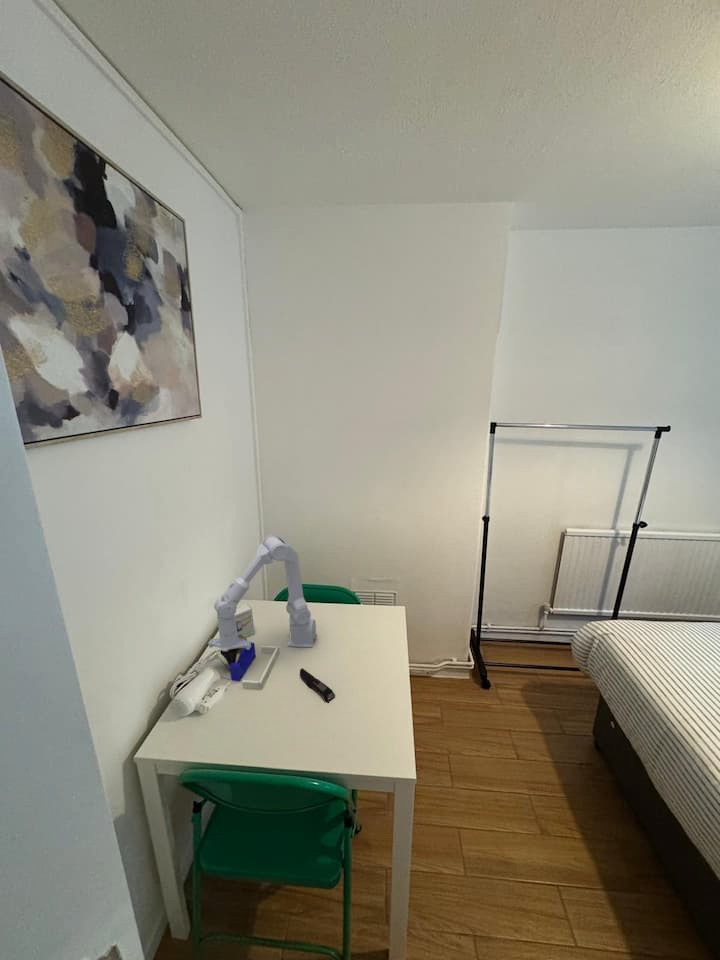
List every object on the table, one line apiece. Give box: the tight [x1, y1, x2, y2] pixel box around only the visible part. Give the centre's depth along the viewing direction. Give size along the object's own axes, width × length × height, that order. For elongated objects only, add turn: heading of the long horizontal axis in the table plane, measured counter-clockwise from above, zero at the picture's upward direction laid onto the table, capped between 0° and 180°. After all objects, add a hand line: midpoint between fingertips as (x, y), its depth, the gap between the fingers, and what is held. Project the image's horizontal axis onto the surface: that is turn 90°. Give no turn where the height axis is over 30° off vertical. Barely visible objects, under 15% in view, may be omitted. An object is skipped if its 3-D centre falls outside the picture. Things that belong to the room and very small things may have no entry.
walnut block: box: [237, 637, 248, 655], centre depth 140 cm, size 4×4×4 cm
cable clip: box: [229, 642, 257, 682], centre depth 130 cm, size 12×4×6 cm, turn 170°
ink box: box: [235, 603, 256, 638], centre depth 147 cm, size 9×5×12 cm, turn 129°
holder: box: [241, 645, 280, 690], centre depth 130 cm, size 6×18×2 cm, turn 173°
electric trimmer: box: [299, 668, 336, 704], centre depth 121 cm, size 4×16×3 cm, turn 45°
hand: (232, 664), depth 131 cm, fingers closed
